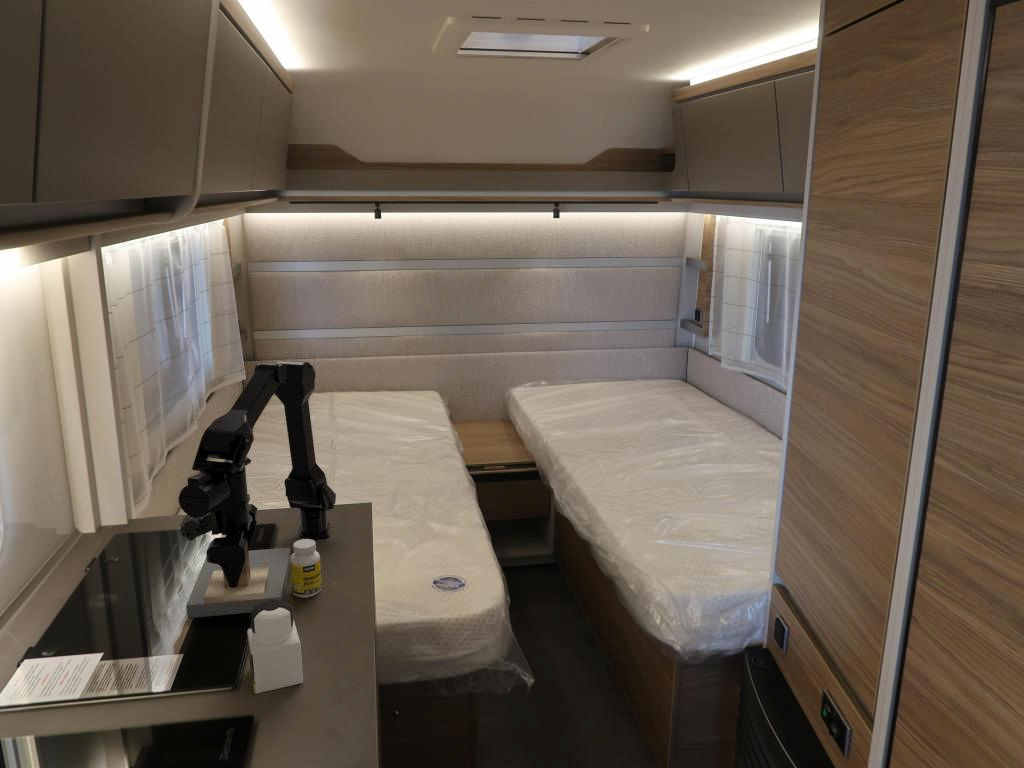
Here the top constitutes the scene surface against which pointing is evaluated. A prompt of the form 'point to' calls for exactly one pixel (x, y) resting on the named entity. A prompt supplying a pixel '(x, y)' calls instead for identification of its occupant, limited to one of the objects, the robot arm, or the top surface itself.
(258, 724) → the top surface
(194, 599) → the board
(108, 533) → the top surface
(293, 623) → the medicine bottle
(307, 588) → the supplement bottle
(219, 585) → the lid
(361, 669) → the top surface
